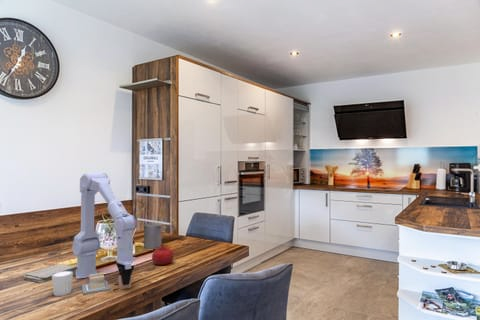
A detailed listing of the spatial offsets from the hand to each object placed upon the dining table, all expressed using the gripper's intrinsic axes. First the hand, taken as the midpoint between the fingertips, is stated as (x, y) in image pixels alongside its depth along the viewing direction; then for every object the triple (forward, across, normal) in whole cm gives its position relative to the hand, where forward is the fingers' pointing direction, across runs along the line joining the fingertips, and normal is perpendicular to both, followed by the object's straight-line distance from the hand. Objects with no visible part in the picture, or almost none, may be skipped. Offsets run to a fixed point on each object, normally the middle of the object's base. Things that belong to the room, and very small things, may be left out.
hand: (124, 282), depth 124 cm
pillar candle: (+2, +53, -24) cm, 58 cm away
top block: (+1, 0, 0) cm, 1 cm away
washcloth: (+2, +30, +25) cm, 39 cm away
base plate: (+1, +4, +10) cm, 11 cm away
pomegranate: (+2, +22, -21) cm, 30 cm away
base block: (+1, +4, +10) cm, 10 cm away
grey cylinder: (+2, +5, +21) cm, 22 cm away
